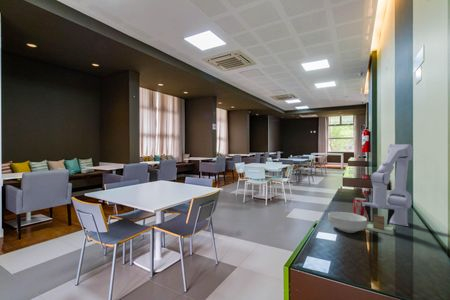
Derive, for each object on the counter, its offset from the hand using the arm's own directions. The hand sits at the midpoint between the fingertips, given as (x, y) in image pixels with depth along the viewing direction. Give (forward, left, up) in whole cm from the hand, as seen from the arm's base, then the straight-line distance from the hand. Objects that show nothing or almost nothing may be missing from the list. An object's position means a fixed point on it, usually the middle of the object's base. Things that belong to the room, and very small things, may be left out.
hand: (378, 222), depth 112 cm
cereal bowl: (+13, -13, -3) cm, 19 cm away
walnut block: (0, 0, -3) cm, 3 cm away
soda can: (-12, -9, -3) cm, 15 cm away
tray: (0, 0, -3) cm, 3 cm away
